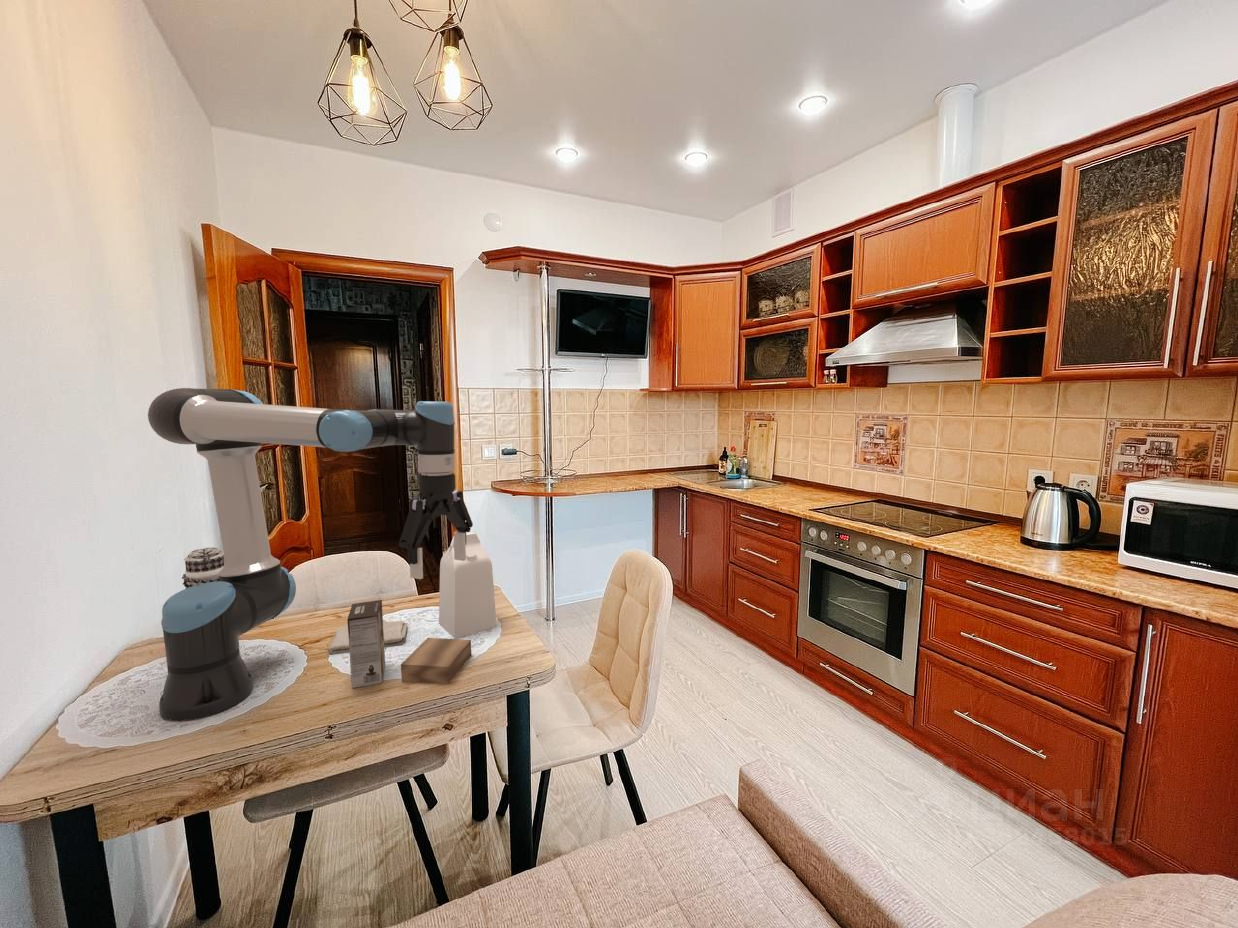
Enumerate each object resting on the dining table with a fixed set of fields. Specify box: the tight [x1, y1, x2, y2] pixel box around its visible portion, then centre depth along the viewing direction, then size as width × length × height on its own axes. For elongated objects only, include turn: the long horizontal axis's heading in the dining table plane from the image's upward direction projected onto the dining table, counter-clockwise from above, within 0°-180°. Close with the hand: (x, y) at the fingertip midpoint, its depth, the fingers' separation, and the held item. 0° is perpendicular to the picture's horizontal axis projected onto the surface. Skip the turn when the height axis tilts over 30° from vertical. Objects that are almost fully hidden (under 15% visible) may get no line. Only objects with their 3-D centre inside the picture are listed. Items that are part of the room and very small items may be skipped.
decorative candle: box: [181, 547, 225, 589], centre depth 128 cm, size 9×9×25 cm
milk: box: [438, 532, 498, 639], centre depth 141 cm, size 12×12×26 cm
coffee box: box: [347, 599, 386, 689], centre depth 115 cm, size 9×6×16 cm
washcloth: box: [328, 620, 408, 655], centre depth 133 cm, size 12×18×3 cm, turn 110°
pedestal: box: [400, 637, 472, 685], centre depth 119 cm, size 11×13×4 cm
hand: (439, 568), depth 112 cm, fingers open, 13 cm apart
